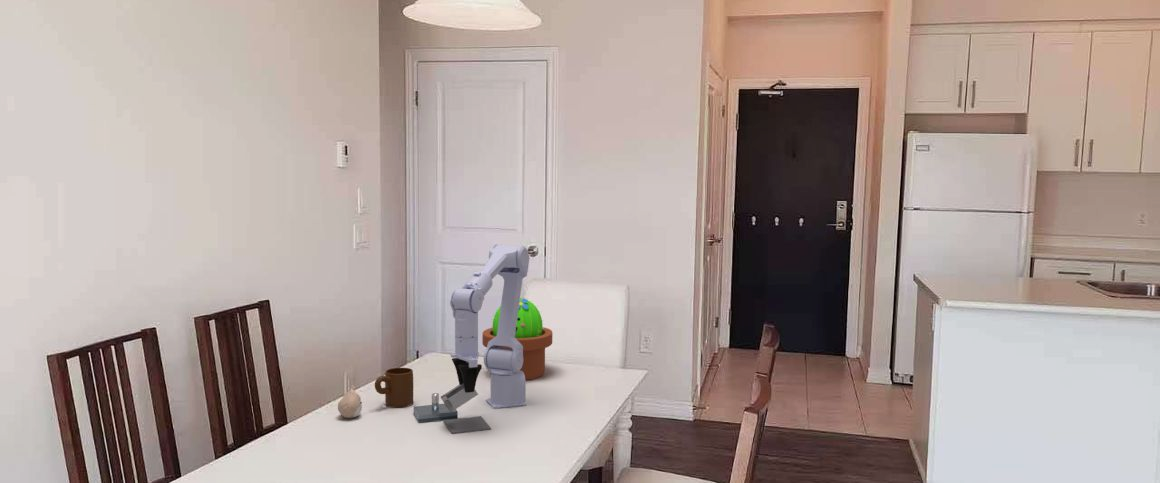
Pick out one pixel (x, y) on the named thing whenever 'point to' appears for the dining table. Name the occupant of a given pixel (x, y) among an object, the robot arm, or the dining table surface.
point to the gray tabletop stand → (457, 397)
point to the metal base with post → (434, 411)
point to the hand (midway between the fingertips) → (466, 388)
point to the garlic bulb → (350, 404)
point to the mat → (466, 425)
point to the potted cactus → (526, 338)
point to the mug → (396, 387)
